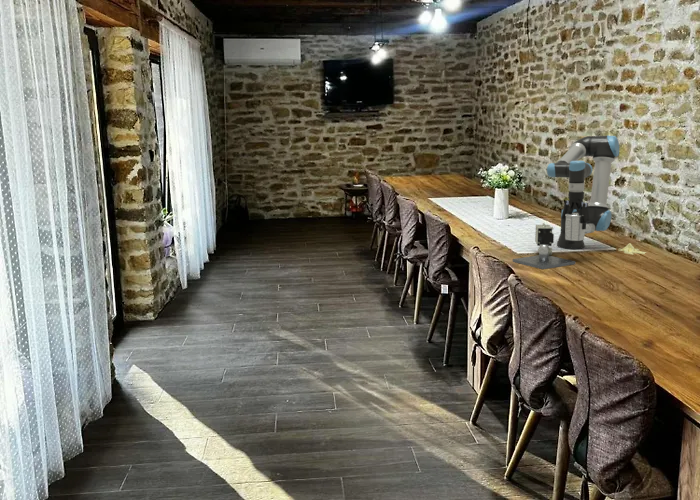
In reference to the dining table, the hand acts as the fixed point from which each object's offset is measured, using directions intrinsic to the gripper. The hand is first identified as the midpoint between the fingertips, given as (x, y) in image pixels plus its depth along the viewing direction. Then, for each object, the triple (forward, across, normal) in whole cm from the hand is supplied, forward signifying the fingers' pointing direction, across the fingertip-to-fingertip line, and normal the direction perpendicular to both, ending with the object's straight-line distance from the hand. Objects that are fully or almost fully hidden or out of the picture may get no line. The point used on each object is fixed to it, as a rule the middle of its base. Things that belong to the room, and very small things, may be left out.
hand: (574, 234), depth 317 cm
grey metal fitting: (+3, 0, 0) cm, 3 cm away
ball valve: (+14, -18, -3) cm, 24 cm away
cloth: (+18, -4, +46) cm, 50 cm away
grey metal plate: (+14, -4, -18) cm, 23 cm away
